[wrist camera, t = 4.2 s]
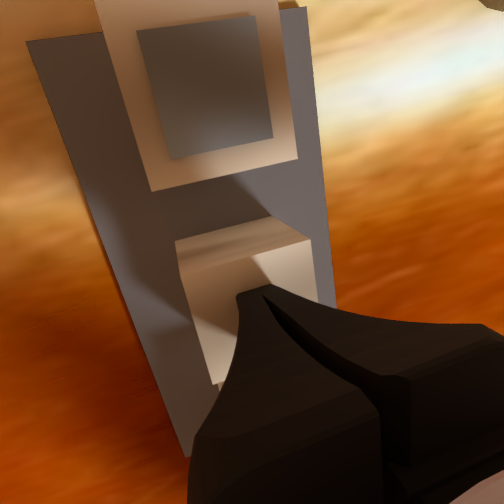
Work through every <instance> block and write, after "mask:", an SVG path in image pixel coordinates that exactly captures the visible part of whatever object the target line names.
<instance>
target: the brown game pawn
mask: <svg viewBox="0 0 504 504" xmlns="http://www.w3.org/2000/svg"><path fill="white" fill-rule="evenodd" d="M479 1H480V2H482V3H483V4H484V5H485V6H486V7H487V8H491V9H494V10H498V11H502V12H503V11H504V0H479Z"/></svg>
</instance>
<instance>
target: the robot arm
mask: <svg viewBox="0 0 504 504" xmlns="http://www.w3.org/2000/svg"><path fill="white" fill-rule="evenodd" d="M235 298H236V302H237V307H238V311H239V326H238V334H237V341H236V346H235V350H234V354H233V358H232V361H231V365H230V368H229V371H228V374H227V376H226V379H225V381H224V384H223V386H222V388H221V390H220V392H219V394H218V396H217V398H216V401H215V403H214V405H213V407H212V408H211V410H210V412H209V413H208V415H207V417H206V418H205V420H204V422H203V423H202V425H201V427H200V428H199V430H198V432H197V433H196V435H195V436H194V441H193V447H192V453H191V459H190V467H189V476H188V492H187V504H504V336H502V335H501V334H499V333H497V332H495V331H494V330H492V329H490V328H488V327H486V326H485V325H483V324H435V323H419V322H406V321H396V320H388V319H382V318H375V317H369V316H364V315H359V314H355V313H351V312H346V311H342V310H339V309H335V308H332V307H329V306H326V305H323V304H320V303H317V302H314V301H311V300H309V299H306V298H304V297H301V296H299V295H296V294H294V293H292V292H289V291H287V290H285V289H283V288H280V287H278V286H276V285H273V284H267V285H264V286H261V287H258V288H254V289H251V290H248V291H245V292H241V293H238V294H237V295H236V297H235Z"/></svg>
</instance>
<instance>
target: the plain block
mask: <svg viewBox="0 0 504 504" xmlns="http://www.w3.org/2000/svg"><path fill="white" fill-rule="evenodd" d="M175 247H176V253H177V259H178V266H179V272H180V277H181V280H182V284H183V287H184V290H185V294H186V297H187V300H188V304H189V307H190V310H191V314H192V317H193V320H194V324H195V327H196V330H197V334H198V337H199V340H200V344H201V347H202V350H203V354H204V357H205V360H206V364H207V367H208V370H209V374H210V377H211V381H212V384H213V385H214V384H217V383H220V382H222V381H225V379H226V376H227V374H228V371H229V368H230V365H231V361H232V358H233V354H234V350H235V346H236V341H237V334H238V326H239V311H238V307H237V302H236V298H235V297H236V295H237V294H238V293H241V292H245V291H248V290H251V289H254V288H258V287H261V286H264V285H267V284H273V285H276V286H278V287H280V288H283V289H285V290H287V291H289V292H292V293H294V294H296V295H299V296H301V297H304V298H306V299H309V300H311V301H314V302H317V303H318V297H317V289H316V281H315V272H314V264H313V256H312V248H311V240H310V239H309V238H307V237H306V236H304V235H303V234H301V233H299V232H298V231H296V230H294V229H293V228H291V227H289V226H288V225H286V224H285V223H283V222H281V221H280V220H278V219H276V218H275V217H273V216H269V217H265V218H262V219H258V220H254V221H250V222H246V223H242V224H238V225H235V226H231V227H227V228H223V229H219V230H215V231H211V232H208V233H204V234H200V235H196V236H192V237H188V238H185V239H181V240H177V241H175Z"/></svg>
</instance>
